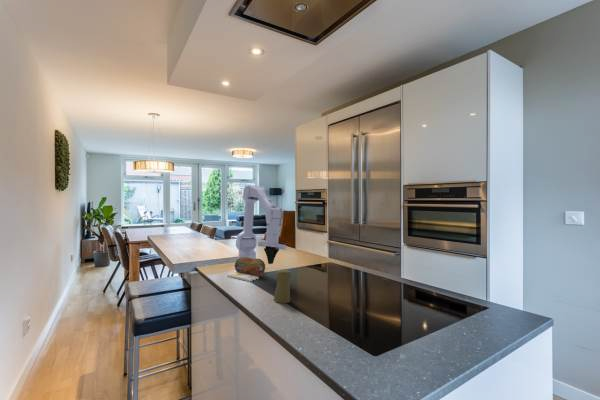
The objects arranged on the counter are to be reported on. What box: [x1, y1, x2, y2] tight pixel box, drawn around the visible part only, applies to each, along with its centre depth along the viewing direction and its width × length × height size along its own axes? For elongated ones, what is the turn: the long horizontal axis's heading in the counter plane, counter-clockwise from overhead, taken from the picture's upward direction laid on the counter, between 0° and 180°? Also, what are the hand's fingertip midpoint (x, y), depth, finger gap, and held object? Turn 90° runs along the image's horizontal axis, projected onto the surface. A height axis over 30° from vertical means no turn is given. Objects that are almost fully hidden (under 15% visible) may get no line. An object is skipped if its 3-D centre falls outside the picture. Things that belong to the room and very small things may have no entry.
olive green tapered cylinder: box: [273, 268, 292, 304], centre depth 108 cm, size 6×6×11 cm
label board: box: [226, 271, 260, 283], centre depth 137 cm, size 6×13×1 cm, turn 61°
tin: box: [234, 257, 266, 277], centre depth 142 cm, size 15×3×8 cm, turn 73°
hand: (270, 263), depth 137 cm, fingers closed
